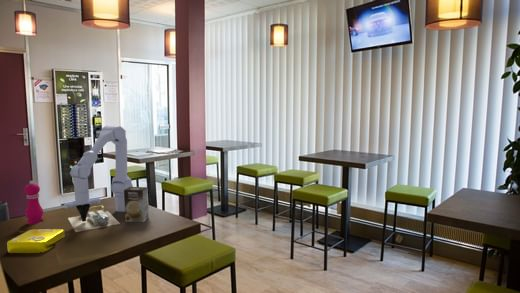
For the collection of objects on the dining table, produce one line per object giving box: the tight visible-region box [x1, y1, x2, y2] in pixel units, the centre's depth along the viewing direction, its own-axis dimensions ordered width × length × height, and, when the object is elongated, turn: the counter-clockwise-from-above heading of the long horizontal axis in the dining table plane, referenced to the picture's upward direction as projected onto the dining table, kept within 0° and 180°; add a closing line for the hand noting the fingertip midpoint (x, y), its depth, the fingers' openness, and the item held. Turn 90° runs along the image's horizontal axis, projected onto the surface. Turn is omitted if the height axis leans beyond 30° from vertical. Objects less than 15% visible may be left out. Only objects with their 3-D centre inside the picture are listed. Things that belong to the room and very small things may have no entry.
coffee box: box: [124, 186, 150, 223], centre depth 168 cm, size 9×6×16 cm
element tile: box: [6, 228, 65, 254], centre depth 143 cm, size 15×15×5 cm
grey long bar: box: [97, 210, 109, 228], centre depth 168 cm, size 4×17×4 cm, turn 35°
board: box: [67, 210, 121, 233], centre depth 169 cm, size 18×24×1 cm
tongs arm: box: [88, 211, 100, 225], centre depth 168 cm, size 2×14×4 cm, turn 36°
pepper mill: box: [24, 180, 44, 226], centre depth 170 cm, size 7×7×20 cm
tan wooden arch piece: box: [79, 204, 106, 216], centre depth 177 cm, size 10×5×4 cm, turn 125°
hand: (84, 220), depth 166 cm, fingers closed
